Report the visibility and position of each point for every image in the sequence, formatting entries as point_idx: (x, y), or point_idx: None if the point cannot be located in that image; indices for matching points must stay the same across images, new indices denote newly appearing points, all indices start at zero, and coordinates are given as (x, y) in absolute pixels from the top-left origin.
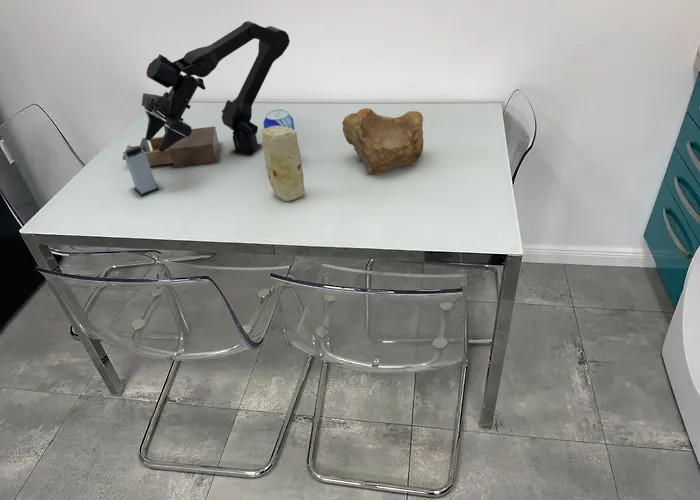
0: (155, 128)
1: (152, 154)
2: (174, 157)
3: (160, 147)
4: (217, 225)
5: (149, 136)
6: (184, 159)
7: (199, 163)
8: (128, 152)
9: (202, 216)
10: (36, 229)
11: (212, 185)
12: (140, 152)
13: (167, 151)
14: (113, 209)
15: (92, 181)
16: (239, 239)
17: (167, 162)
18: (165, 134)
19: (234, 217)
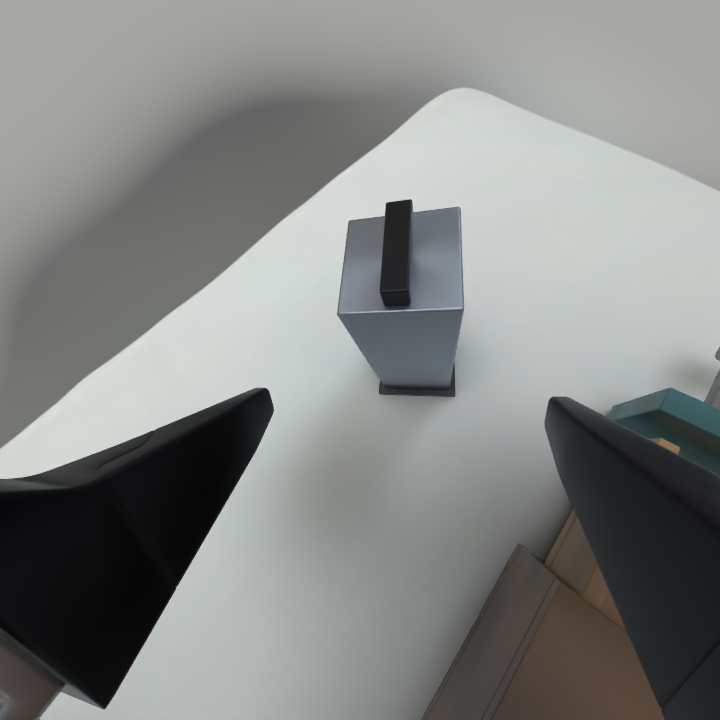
0: (638, 576)
1: None
2: (528, 577)
3: (234, 398)
4: (92, 426)
5: (564, 440)
6: (495, 619)
7: (450, 672)
8: (385, 214)
9: (149, 419)
10: (441, 100)
11: (244, 563)
12: (362, 290)
13: (586, 572)
14: None
15: (646, 229)
16: (21, 433)
17: (563, 533)
18: (92, 469)
19: None
